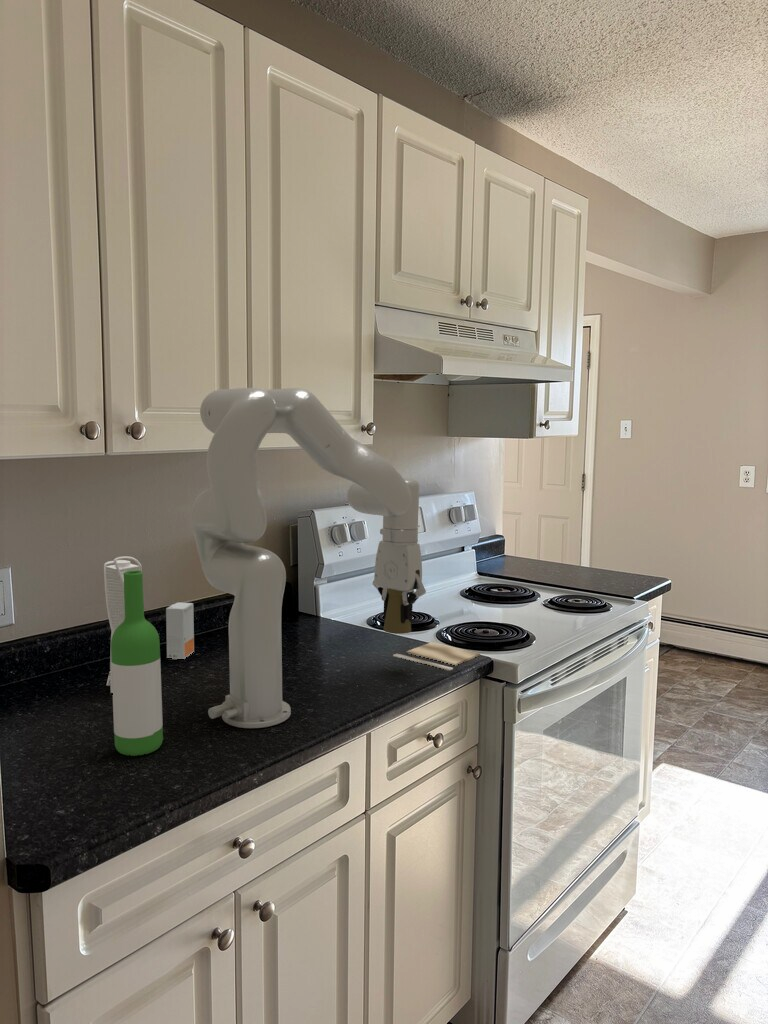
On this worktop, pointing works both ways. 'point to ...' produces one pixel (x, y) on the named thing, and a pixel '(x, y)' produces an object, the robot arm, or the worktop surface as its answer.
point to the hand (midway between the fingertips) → (397, 619)
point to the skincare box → (180, 630)
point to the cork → (395, 614)
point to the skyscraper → (116, 592)
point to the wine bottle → (136, 676)
